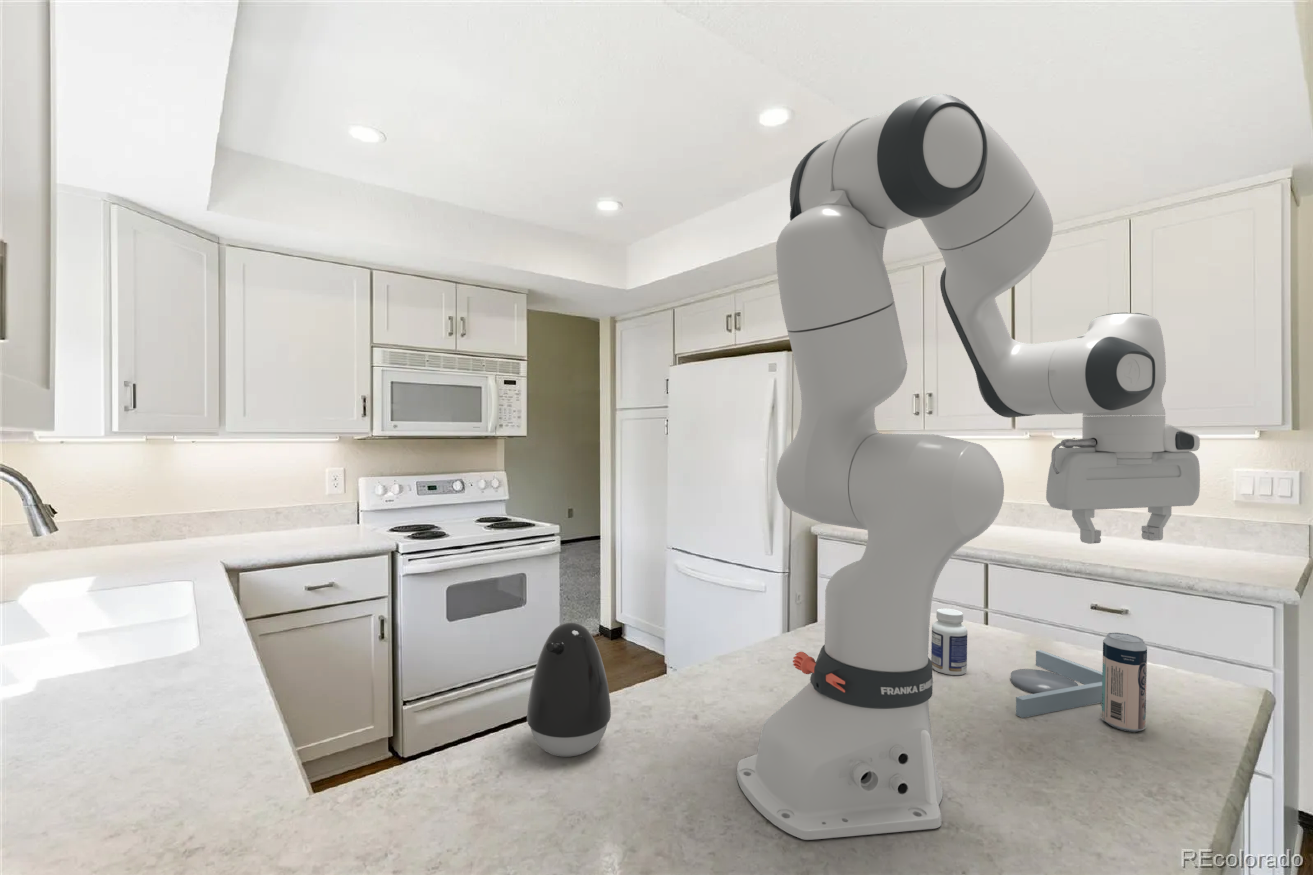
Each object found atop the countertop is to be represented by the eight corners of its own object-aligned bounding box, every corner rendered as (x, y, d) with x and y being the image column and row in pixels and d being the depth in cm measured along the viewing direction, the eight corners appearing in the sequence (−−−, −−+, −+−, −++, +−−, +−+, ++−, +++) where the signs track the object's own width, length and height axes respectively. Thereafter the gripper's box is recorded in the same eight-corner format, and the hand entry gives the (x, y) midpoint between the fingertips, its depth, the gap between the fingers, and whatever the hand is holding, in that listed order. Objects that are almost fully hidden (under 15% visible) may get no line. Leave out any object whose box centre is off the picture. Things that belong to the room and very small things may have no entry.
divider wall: (1022, 717, 86) (1022, 699, 86) (943, 679, 99) (944, 663, 99) (1139, 695, 94) (1139, 678, 94) (1052, 662, 107) (1052, 648, 107)
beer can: (1153, 735, 81) (1155, 644, 81) (1112, 731, 82) (1114, 641, 82) (1133, 719, 86) (1135, 632, 86) (1094, 715, 87) (1096, 630, 87)
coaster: (1049, 702, 91) (1049, 695, 91) (997, 678, 100) (997, 672, 100) (1092, 694, 94) (1093, 687, 94) (1038, 672, 103) (1038, 666, 103)
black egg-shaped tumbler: (509, 759, 74) (510, 630, 73) (553, 721, 83) (554, 607, 83) (586, 776, 70) (588, 642, 70) (623, 734, 80) (624, 616, 80)
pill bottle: (968, 668, 104) (969, 610, 104) (964, 678, 100) (965, 618, 100) (933, 661, 107) (934, 605, 107) (928, 671, 103) (929, 612, 103)
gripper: (1072, 440, 78) (1071, 549, 78) (1211, 437, 81) (1210, 542, 82) (1034, 438, 84) (1034, 540, 85) (1164, 436, 87) (1163, 534, 88)
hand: (1121, 541), depth 83 cm, fingers open, 8 cm apart
